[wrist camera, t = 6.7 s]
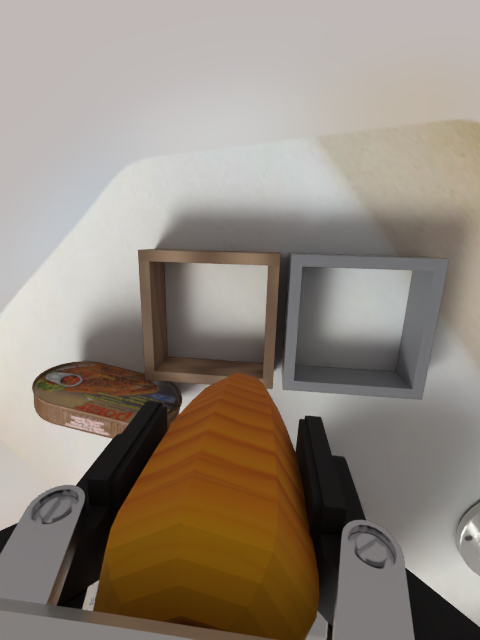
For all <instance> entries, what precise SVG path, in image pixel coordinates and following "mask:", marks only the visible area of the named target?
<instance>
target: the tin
mask: <svg viewBox="0 0 480 640" xmlns="http://www.w3.org/2000/svg"><path fill="white" fill-rule="evenodd" d="M32 390H33V393H34V406H35V410H36V412H37V414H38V415H39V416H40V417H41V418H42V419H44V420H46V421H48V422H50V423H53V424H57V425H60V426H64V427H68V428H72V429H76V430H80V431H84V432H88V433H92V434H96V435H100V436H104V437H108V438H112V439H113V438H114V437H115V436H116V435H117V434H121V433H122V432H123V431H124V429H125V428H126V427H127V426H128V424H129V423H130V422H131V420H132V419H133V418H134V416H135V415H136V414H137V413H138V411H139V410H140V409H141V407H142V406H143V405H144V403H145V402H146V401H155V402H162V404H163V406H166V407H167V428H168V430H169V428H170V426H171V425H172V423H173V422H174V420H175V419H176V418H177V417H178V416H179V410H180V407H181V404H182V396H181V393H180V391H179V390H178V388H177V387H176V386H175V385H173V384H172V383H170V382H169V381H157V380H145V374H142V373H138V372H134V371H130V370H126V369H122V368H118V367H114V366H110V365H106V364H102V363H97V362H71V363H66V364H61V365H58V366H55V367H52V368H50V369H48V370H46V371H44V372H43V373H41V374H40V375H39V376H38V377H37V378H36V379H35V381H34V382H33V386H32Z"/></svg>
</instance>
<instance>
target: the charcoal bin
mask: <svg viewBox="0 0 480 640" xmlns="http://www.w3.org/2000/svg"><path fill="white" fill-rule="evenodd" d="M448 263H449V259H441V258H431V257H409V256H375V255H341V254H307V253H289V268H288V283H287V298H286V314H285V329H284V345H283V360H282V385H283V390H295V391H309V392H322V393H336V394H350V395H364V396H378V397H392V398H405V399H419V400H422V396H423V391H424V386H425V381H426V376H427V370H428V365H429V360H430V355H431V350H432V345H433V340H434V335H435V330H436V324H437V319H438V314H439V309H440V304H441V299H442V294H443V289H444V284H445V279H446V273H447V268H448ZM302 267H332V268H362V269H392V270H413V272H412V278H411V284H410V290H409V296H408V302H407V308H406V314H405V320H404V326H403V332H402V338H401V344H400V350H399V355H398V361H397V367H396V372H393V371H378V370H362V369H347V368H331V367H315V366H300V365H295V358H296V345H297V332H298V319H299V306H300V293H301V280H302Z"/></svg>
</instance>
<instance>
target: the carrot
mask: <svg viewBox="0 0 480 640" xmlns="http://www.w3.org/2000/svg"><path fill="white" fill-rule="evenodd" d="M318 602H319V576H318V569H317V563H316V557H315V552H314V546H313V540H312V538H311V537H310V531H309V524H308V517H307V510H306V503H305V497H304V491H303V484H302V479H301V475H300V470H299V465H298V460H297V456H296V453H295V450H294V448H293V445H292V442H291V439H290V437H289V434H288V431H287V429H286V426H285V424H284V422H283V420H282V417H281V415H280V413H279V411H278V409H277V407H276V405H275V403H274V402H273V400H272V398H271V396H270V395H269V393H268V391H267V390H266V388H265V386H264V384H263V383H262V382H261V381H260V380H259V379H258V378H255V377H252V376H249V375H246V374H243V373H239V372H237V373H235V374H233V375H231V376H228V377H226V378H224V379H222V380H220V381H218V382H216V383H214V384H212V385H210V386H208V387H206V388H205V389H204V390H203V391H202V392H201V393H200V394H199V395H198V396H197V397H196V398H195V399H193V400H192V401H191V403H190V404H189V405H188V406H187V407H186V408H185V409H184V410H183V411H182V412H181V413H180V414H179V416H178V417H177V418H176V419H175V420H174V422H173V423H172V425H171V426H170V428H169V430H168V431H167V433H166V434H165V436H164V437H163V439H162V440H161V442H160V443H159V445H158V447H157V448H156V450H155V451H154V453H153V454H152V456H151V458H150V459H149V461H148V463H147V464H146V466H145V468H144V469H143V471H142V473H141V474H140V476H139V478H138V479H137V481H136V483H135V484H134V486H133V488H132V490H131V491H130V493H129V495H128V496H127V498H126V500H125V501H124V503H123V505H122V506H121V508H120V510H119V511H118V514H117V516H116V518H115V520H114V523H113V525H112V527H111V530H110V534H109V538H108V542H107V546H106V550H105V555H104V560H103V565H102V569H101V574H100V579H99V584H98V589H97V594H96V598H95V603H94V608H93V611H95V612H102V613H109V614H116V615H122V616H129V617H135V618H142V619H148V620H155V621H161V622H168V623H174V624H181V625H187V626H194V627H200V628H206V629H213V630H219V631H226V632H232V633H238V634H244V635H251V636H257V637H263V638H269V639H275V640H305V639H306V637H307V635H308V633H309V631H310V630H311V628H312V626H313V624H314V622H315V620H316V617H317V610H318Z"/></svg>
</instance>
